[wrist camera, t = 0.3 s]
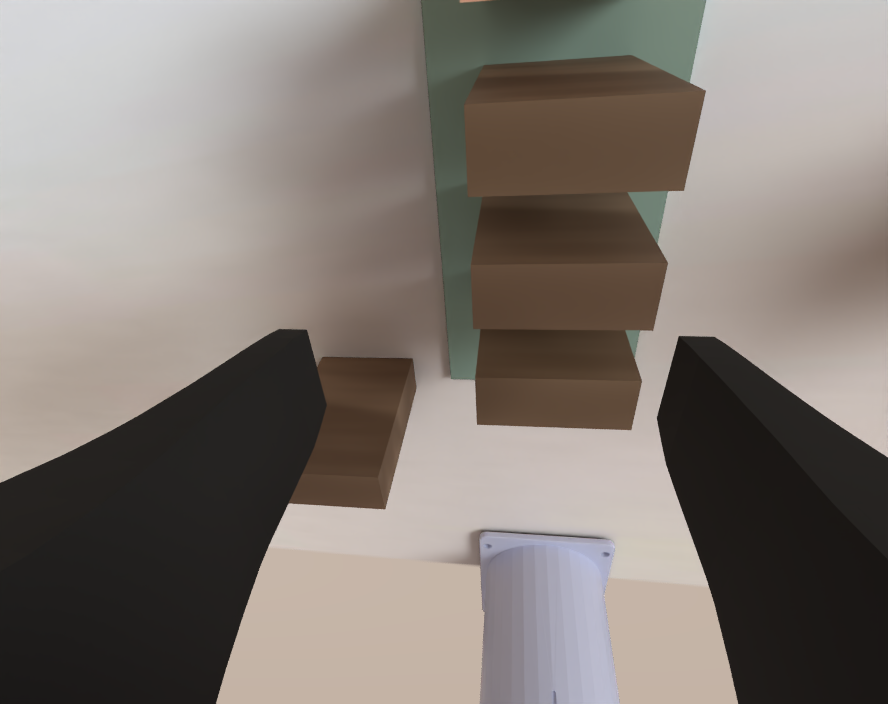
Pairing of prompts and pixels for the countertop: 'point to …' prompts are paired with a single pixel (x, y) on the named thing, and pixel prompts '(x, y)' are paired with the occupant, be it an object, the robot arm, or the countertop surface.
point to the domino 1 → (358, 432)
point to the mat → (514, 41)
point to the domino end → (473, 0)
